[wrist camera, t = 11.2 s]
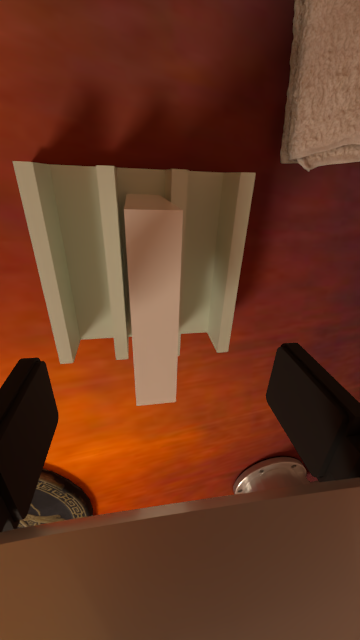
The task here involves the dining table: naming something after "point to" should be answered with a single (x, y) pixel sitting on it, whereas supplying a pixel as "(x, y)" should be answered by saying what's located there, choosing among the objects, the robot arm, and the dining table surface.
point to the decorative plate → (56, 501)
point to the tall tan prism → (154, 293)
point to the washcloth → (323, 85)
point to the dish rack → (111, 255)
